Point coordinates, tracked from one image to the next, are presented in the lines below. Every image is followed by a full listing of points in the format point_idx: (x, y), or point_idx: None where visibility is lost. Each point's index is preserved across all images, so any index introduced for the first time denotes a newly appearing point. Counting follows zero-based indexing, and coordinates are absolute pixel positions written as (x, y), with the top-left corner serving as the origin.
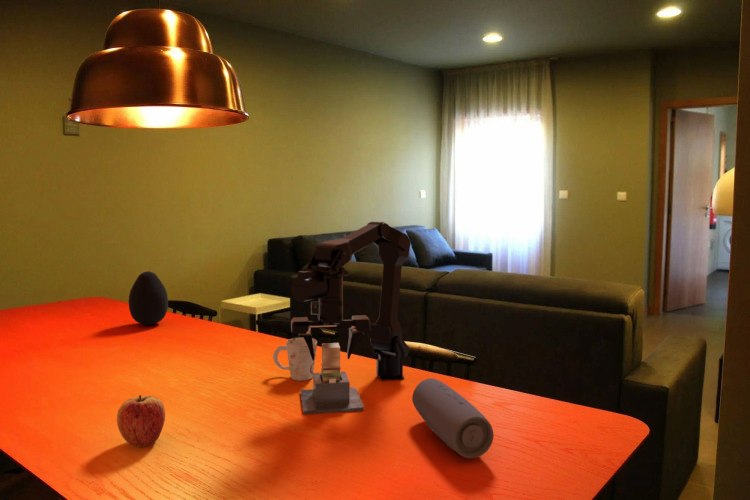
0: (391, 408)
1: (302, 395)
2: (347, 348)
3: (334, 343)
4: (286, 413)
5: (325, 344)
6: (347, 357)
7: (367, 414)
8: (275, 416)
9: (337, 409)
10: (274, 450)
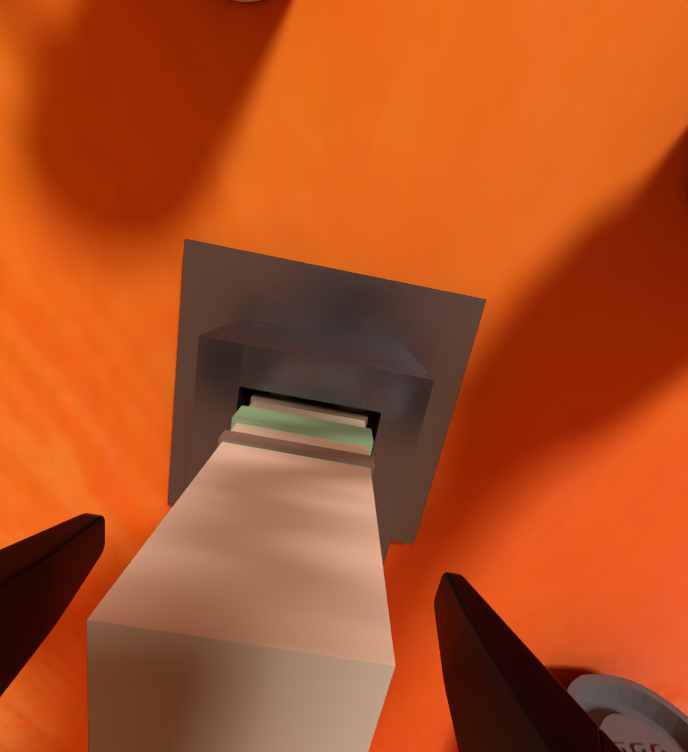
0: (519, 546)
1: (184, 328)
2: (489, 658)
3: (317, 680)
4: (108, 465)
5: (147, 683)
6: (441, 594)
7: (409, 566)
8: (63, 478)
9: None
10: (65, 689)
